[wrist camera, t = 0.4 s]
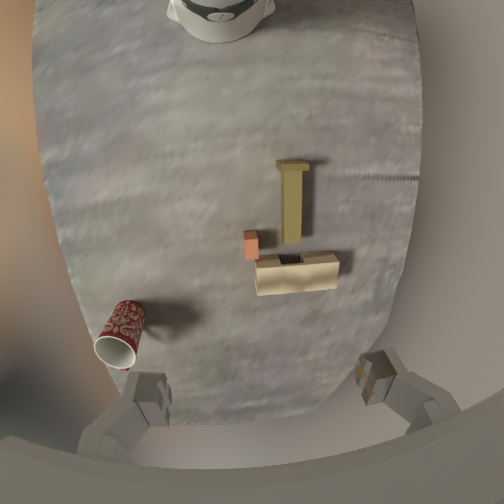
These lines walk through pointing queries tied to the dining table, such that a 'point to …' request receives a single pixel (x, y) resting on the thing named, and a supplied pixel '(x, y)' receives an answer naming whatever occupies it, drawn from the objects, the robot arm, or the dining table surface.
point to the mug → (121, 336)
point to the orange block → (250, 245)
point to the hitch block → (296, 273)
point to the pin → (291, 199)
